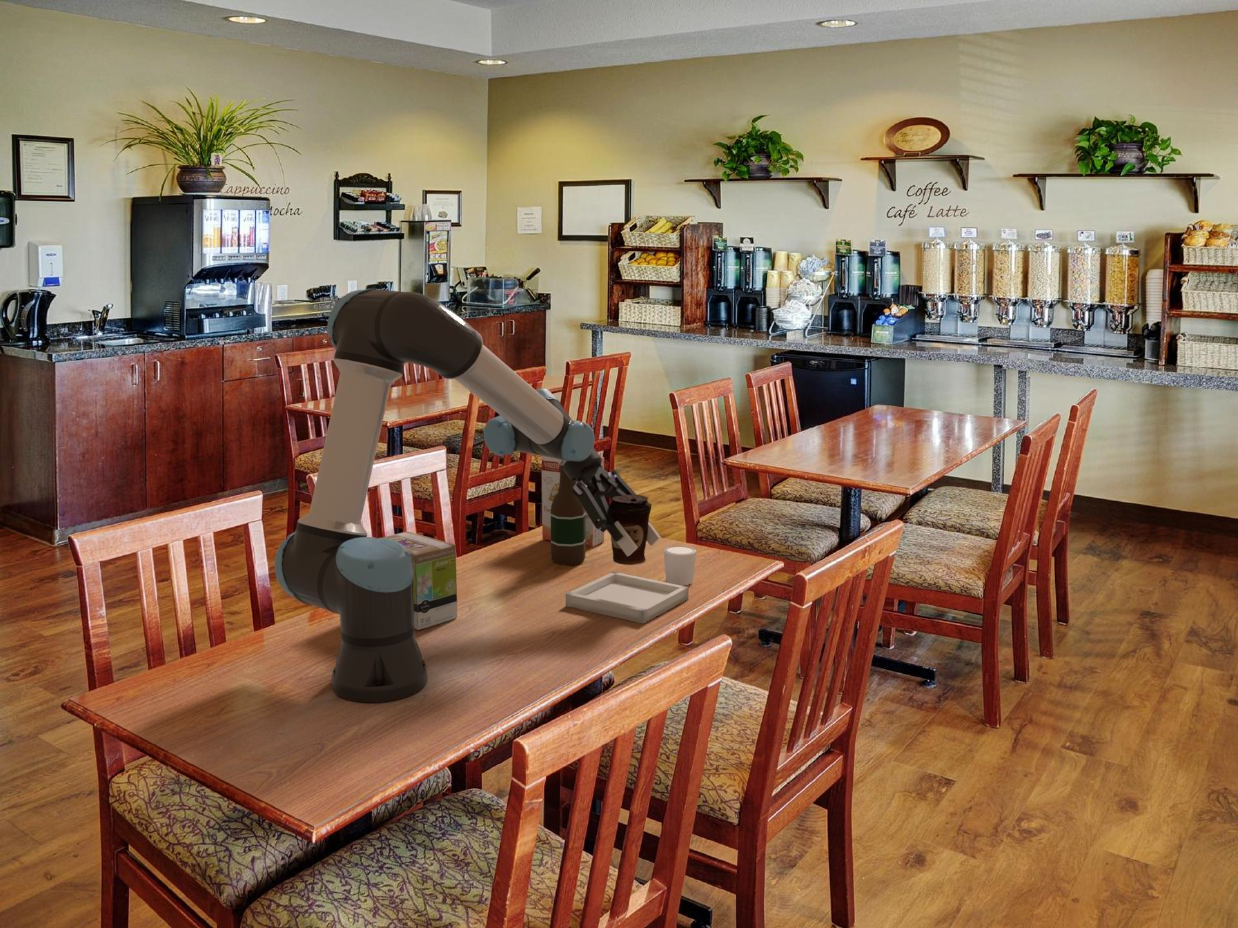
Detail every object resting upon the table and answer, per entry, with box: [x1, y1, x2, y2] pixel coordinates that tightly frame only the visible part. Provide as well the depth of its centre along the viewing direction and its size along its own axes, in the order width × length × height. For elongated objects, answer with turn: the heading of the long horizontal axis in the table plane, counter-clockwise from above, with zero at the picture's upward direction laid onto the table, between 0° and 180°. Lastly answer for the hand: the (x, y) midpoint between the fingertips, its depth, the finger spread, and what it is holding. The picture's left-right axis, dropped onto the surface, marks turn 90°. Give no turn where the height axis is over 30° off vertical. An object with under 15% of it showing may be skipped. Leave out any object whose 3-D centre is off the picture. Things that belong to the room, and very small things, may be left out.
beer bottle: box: [550, 466, 587, 567], centre depth 246 cm, size 8×8×24 cm
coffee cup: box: [608, 494, 652, 566], centre depth 219 cm, size 9×8×13 cm
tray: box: [565, 571, 690, 625], centre depth 222 cm, size 17×18×2 cm
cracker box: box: [541, 456, 605, 549], centre depth 262 cm, size 14×6×21 cm, turn 61°
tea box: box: [377, 531, 458, 631], centre depth 213 cm, size 15×10×15 cm, turn 48°
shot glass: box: [663, 545, 697, 586], centre depth 234 cm, size 7×7×7 cm
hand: (644, 546), depth 218 cm, fingers closed on coffee cup, 8 cm apart
